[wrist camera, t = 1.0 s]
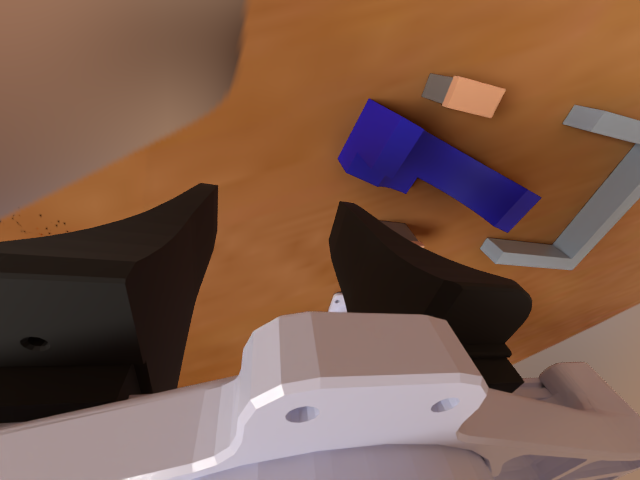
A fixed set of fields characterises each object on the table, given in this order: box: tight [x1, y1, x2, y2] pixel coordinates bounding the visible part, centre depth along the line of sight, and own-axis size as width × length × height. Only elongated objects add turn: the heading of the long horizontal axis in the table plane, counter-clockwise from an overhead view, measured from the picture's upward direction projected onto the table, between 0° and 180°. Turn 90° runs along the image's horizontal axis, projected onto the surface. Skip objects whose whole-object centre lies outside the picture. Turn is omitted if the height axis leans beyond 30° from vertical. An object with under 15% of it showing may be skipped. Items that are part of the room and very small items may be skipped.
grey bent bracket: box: [480, 105, 640, 270], centre depth 25 cm, size 14×10×2 cm
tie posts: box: [380, 73, 506, 248], centre depth 21 cm, size 13×3×4 cm, turn 168°
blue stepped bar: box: [338, 99, 541, 233], centre depth 20 cm, size 12×4×6 cm, turn 63°
